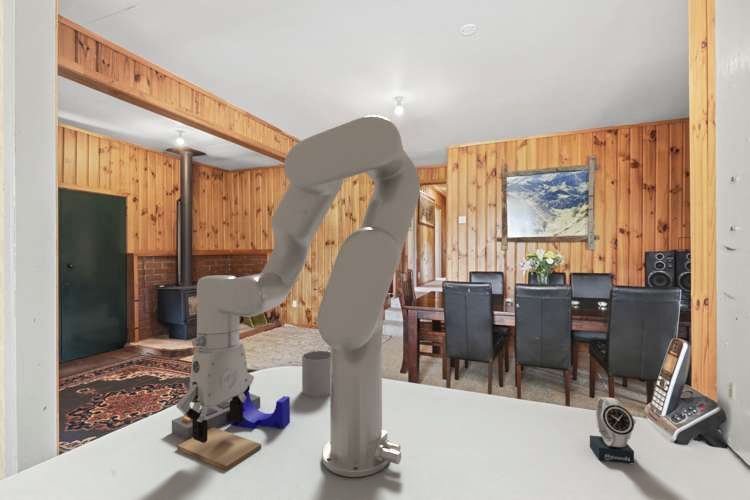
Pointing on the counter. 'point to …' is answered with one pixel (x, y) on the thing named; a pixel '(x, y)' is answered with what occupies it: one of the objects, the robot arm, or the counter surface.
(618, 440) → the watch
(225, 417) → the power strip
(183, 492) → the counter surface
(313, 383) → the cup
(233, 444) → the wooden board
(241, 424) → the cable clip
